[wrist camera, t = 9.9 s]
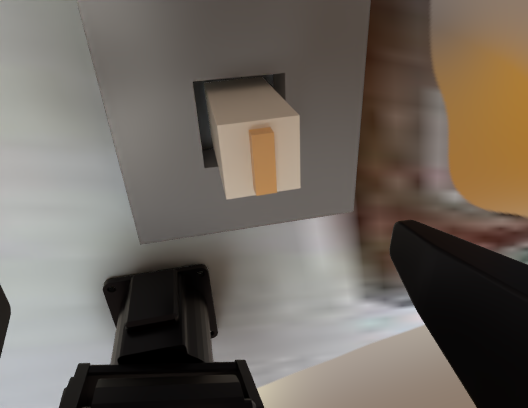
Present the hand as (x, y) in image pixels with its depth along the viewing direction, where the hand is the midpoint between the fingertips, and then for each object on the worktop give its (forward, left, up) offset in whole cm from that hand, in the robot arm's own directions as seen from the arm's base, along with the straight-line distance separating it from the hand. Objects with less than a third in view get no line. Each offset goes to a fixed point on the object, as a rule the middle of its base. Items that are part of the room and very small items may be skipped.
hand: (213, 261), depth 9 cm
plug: (0, -2, -13) cm, 13 cm away
